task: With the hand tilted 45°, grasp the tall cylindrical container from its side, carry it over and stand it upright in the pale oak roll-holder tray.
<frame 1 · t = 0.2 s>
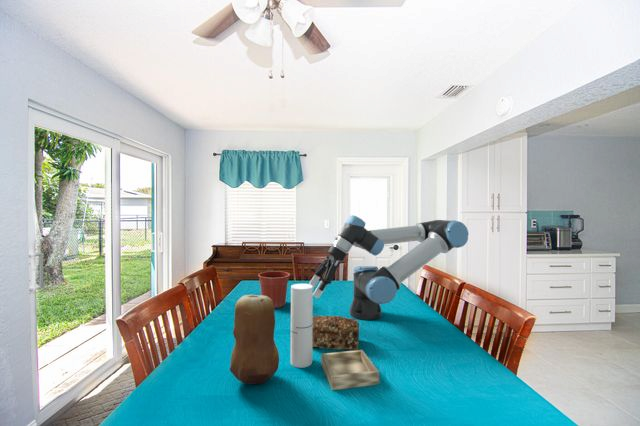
hand: (312, 292, 124), 16 cm above the table, tool tilted 35°, fingers open, 13 cm apart
flower pot: (274, 305, 157), on the table
holder tray: (348, 373, 92), on the table
butternut squash: (254, 381, 88), on the table
bread: (333, 344, 113), on the table
cylindrical container: (301, 362, 99), on the table
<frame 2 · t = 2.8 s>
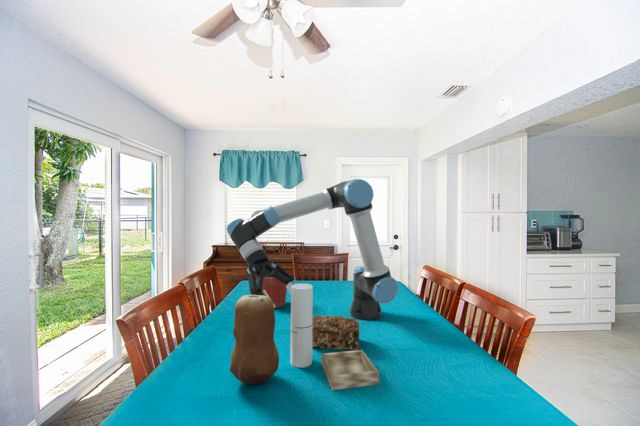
hand: (286, 303, 101), 18 cm above the table, tool tilted 45°, fingers open, 13 cm apart
nothing on the table moved.
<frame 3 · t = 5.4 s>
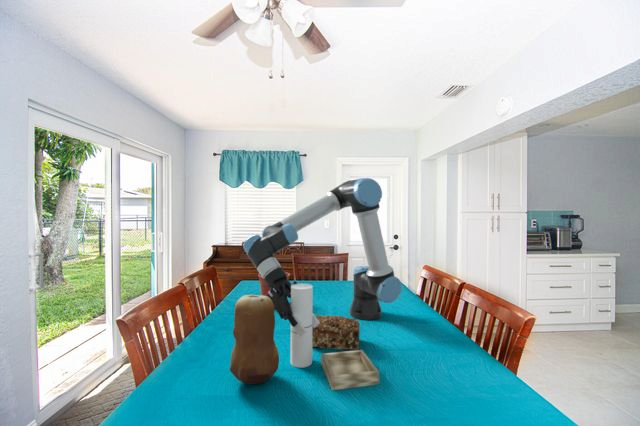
hand: (310, 329, 97), 12 cm above the table, tool tilted 45°, fingers closed on cylindrical container, 7 cm apart
cylindrical container: (301, 362, 99), on the table, touching gripper
everything else where it was.
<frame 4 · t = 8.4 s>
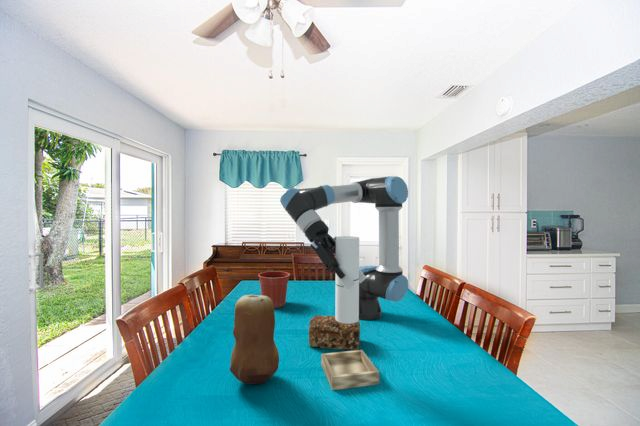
hand: (357, 283, 90), 28 cm above the table, tool tilted 45°, fingers closed on cylindrical container, 7 cm apart
cylindrical container: (346, 319, 92), point 17 cm above the table, touching gripper
everything else where it was.
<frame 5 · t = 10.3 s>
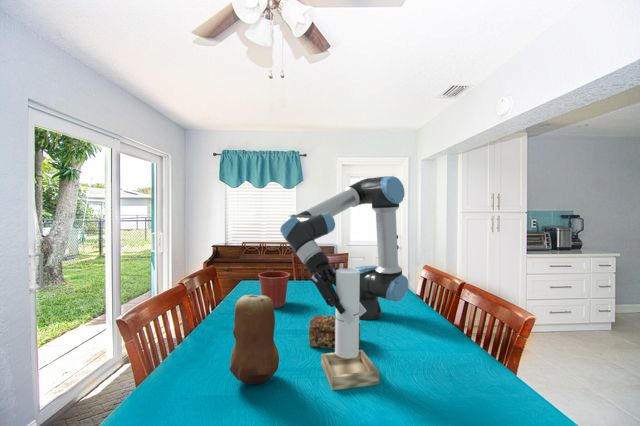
hand: (357, 317, 89), 18 cm above the table, tool tilted 45°, fingers closed on cylindrical container, 7 cm apart
cylindrical container: (346, 353, 91), point 6 cm above the table, touching gripper
everything else where it was.
when the fingers open (14 cm above the table, at t = 11.6 s): cylindrical container drops 1 cm, resting on holder tray.
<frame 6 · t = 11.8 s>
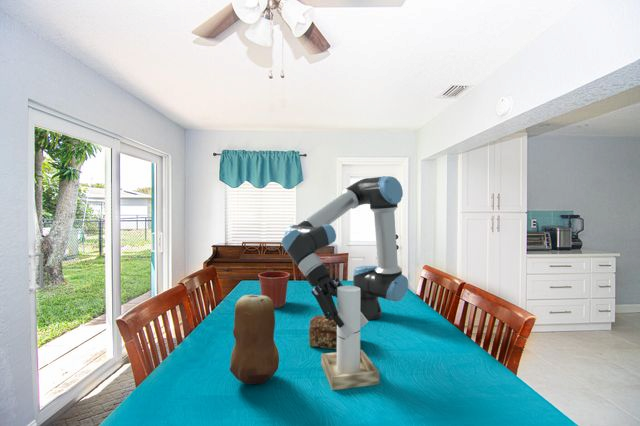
hand: (358, 329, 90), 14 cm above the table, tool tilted 45°, fingers open, 9 cm apart
cylindrical container: (348, 370, 92), point 1 cm above the table, touching holder tray
everything else where it was.
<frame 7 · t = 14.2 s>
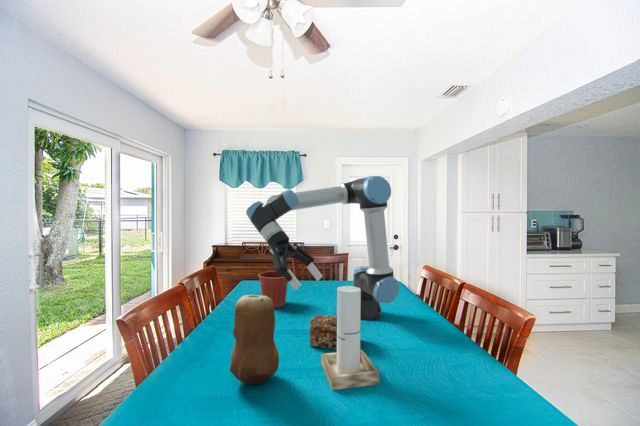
hand: (309, 283, 102), 25 cm above the table, tool tilted 45°, fingers open, 13 cm apart
nothing on the table moved.
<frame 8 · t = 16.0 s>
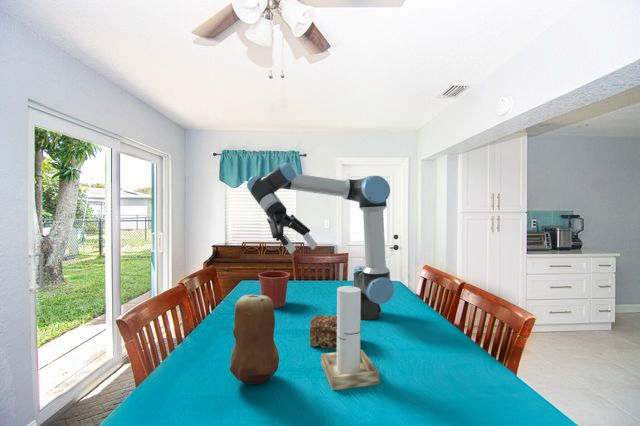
hand: (304, 249, 109), 36 cm above the table, tool tilted 45°, fingers open, 13 cm apart
nothing on the table moved.
at the end: cylindrical container inside the target area on the holder tray (0.1 cm from its centre), point 0.8 cm above the holder tray's base; cylindrical container tilted 0°; the gripper is holding nothing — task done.
